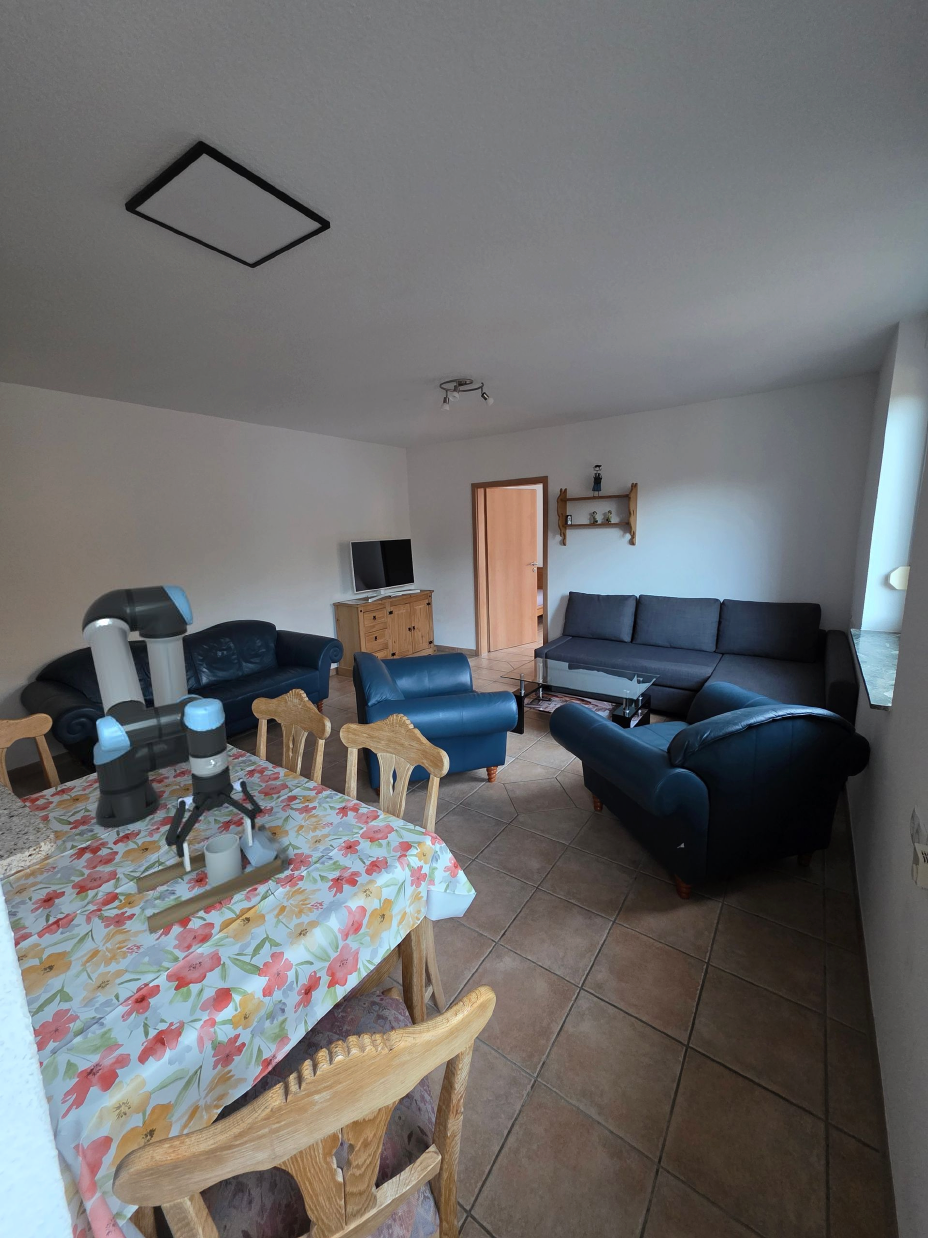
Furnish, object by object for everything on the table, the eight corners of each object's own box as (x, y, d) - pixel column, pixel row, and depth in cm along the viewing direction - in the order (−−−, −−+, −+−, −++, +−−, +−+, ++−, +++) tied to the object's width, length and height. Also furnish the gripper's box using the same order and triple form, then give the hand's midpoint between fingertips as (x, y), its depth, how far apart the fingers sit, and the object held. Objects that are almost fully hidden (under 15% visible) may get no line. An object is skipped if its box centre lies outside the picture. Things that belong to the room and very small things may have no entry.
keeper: (238, 843, 119) (247, 827, 120) (252, 847, 122) (261, 831, 123) (253, 866, 111) (262, 849, 112) (267, 869, 114) (277, 852, 115)
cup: (209, 894, 107) (204, 858, 106) (206, 868, 116) (202, 834, 114) (244, 882, 111) (240, 847, 109) (239, 857, 119) (236, 824, 118)
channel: (137, 891, 109) (135, 875, 108) (264, 838, 127) (263, 824, 126) (150, 934, 97) (147, 917, 96) (288, 869, 115) (287, 854, 114)
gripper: (147, 795, 97) (160, 889, 101) (272, 758, 113) (278, 840, 117) (142, 781, 103) (154, 870, 107) (261, 747, 118) (268, 826, 122)
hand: (219, 855), depth 112 cm, fingers open, 12 cm apart
